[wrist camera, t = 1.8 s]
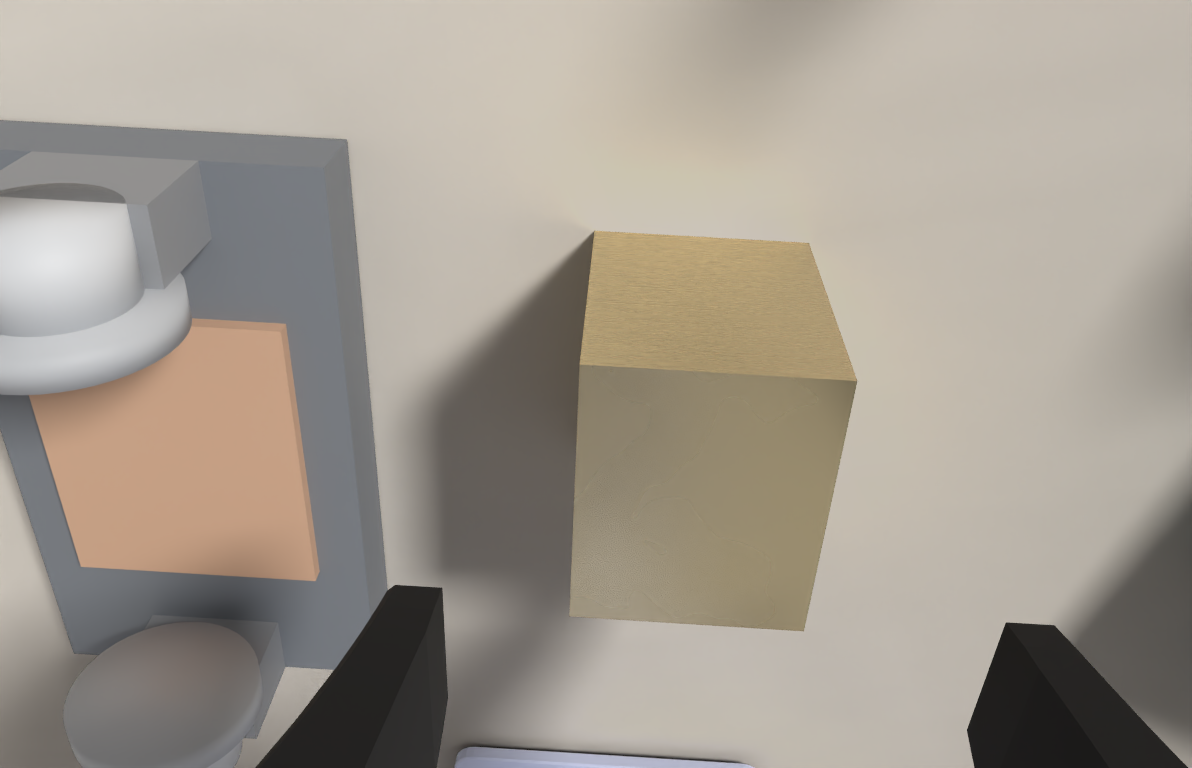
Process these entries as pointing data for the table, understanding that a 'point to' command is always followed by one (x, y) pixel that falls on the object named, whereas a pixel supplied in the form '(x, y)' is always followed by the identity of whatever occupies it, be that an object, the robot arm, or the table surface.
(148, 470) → the stand
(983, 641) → the table surface
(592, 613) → the coupling block
